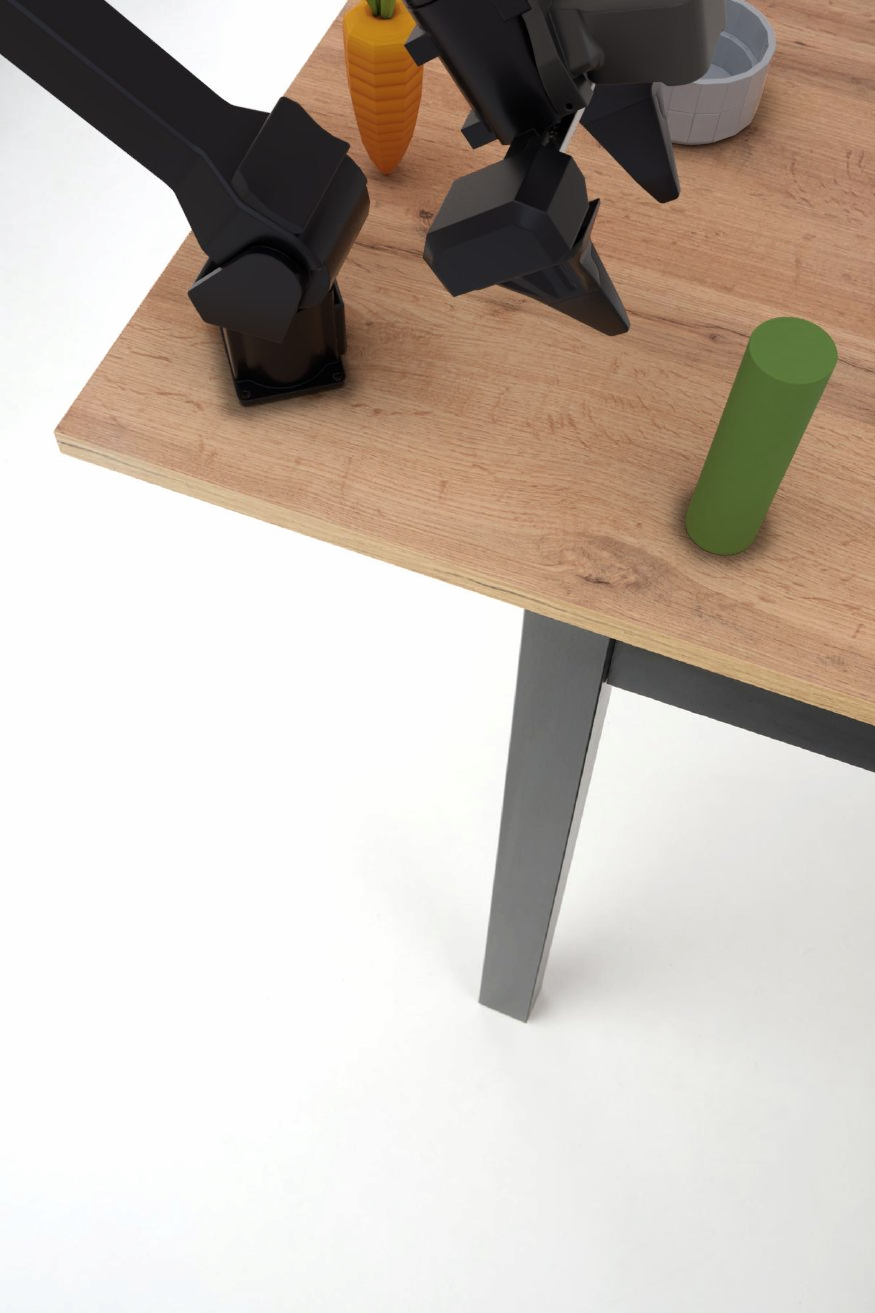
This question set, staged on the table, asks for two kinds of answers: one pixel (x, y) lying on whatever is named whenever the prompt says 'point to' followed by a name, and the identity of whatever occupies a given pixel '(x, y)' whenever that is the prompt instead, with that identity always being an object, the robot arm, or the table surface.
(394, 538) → the table surface
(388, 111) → the carrot
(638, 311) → the table surface
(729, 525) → the green cylinder
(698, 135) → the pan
